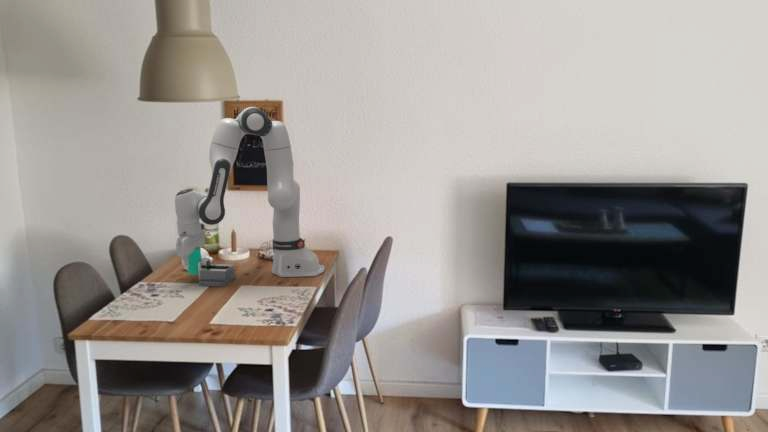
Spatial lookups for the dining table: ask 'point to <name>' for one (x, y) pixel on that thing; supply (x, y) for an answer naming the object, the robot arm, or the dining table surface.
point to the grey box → (217, 275)
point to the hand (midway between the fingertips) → (192, 262)
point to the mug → (203, 255)
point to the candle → (194, 261)
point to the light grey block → (203, 265)
